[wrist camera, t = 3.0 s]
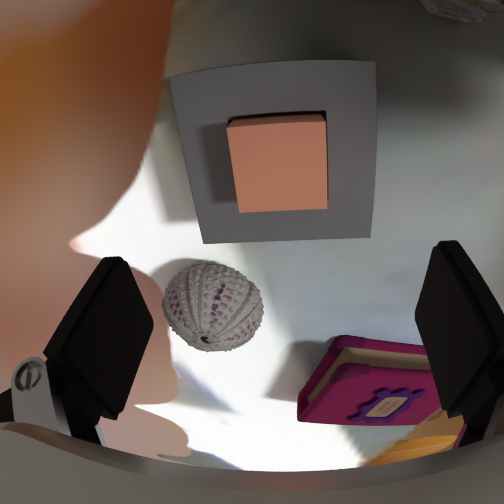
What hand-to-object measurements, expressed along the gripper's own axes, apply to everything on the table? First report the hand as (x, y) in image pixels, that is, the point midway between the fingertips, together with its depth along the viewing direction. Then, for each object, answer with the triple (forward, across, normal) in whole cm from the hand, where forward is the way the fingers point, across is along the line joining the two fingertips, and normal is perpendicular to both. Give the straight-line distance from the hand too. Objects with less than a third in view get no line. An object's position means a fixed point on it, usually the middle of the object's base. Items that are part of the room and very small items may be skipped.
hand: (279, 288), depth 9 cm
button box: (+23, 0, +2) cm, 23 cm away
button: (+18, 0, +2) cm, 18 cm away
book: (+24, -17, +45) cm, 53 cm away
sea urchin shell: (+24, +10, +22) cm, 34 cm away
